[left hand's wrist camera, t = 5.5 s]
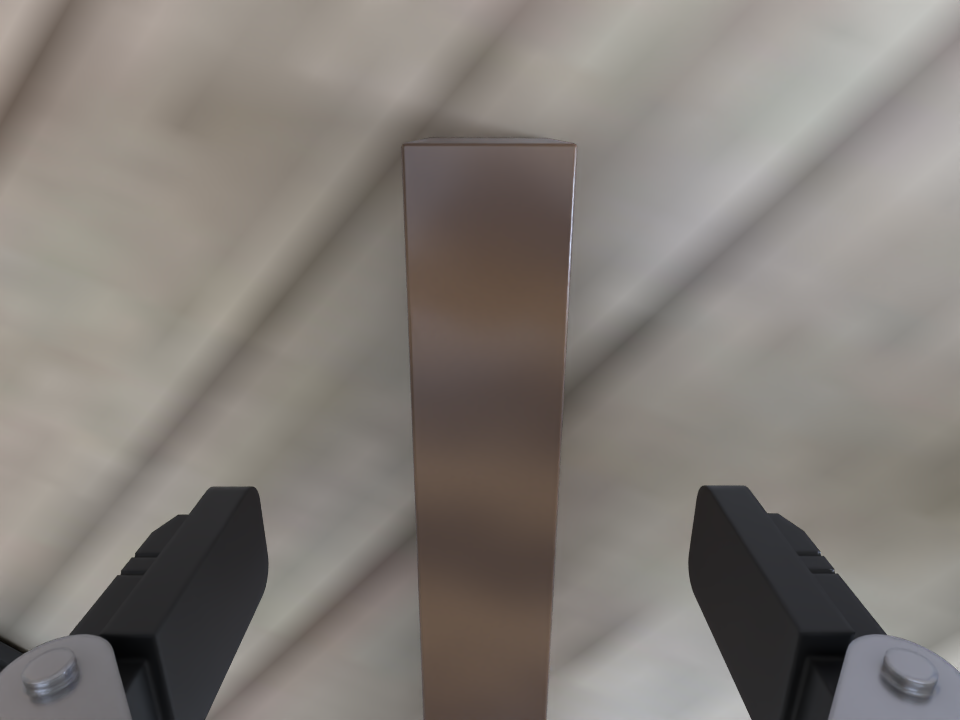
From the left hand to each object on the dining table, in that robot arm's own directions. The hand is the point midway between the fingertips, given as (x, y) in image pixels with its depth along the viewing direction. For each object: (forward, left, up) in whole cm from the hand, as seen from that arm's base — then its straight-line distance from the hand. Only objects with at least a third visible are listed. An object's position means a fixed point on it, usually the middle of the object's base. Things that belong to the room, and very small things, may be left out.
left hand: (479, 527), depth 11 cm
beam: (+7, +21, -13) cm, 25 cm away
